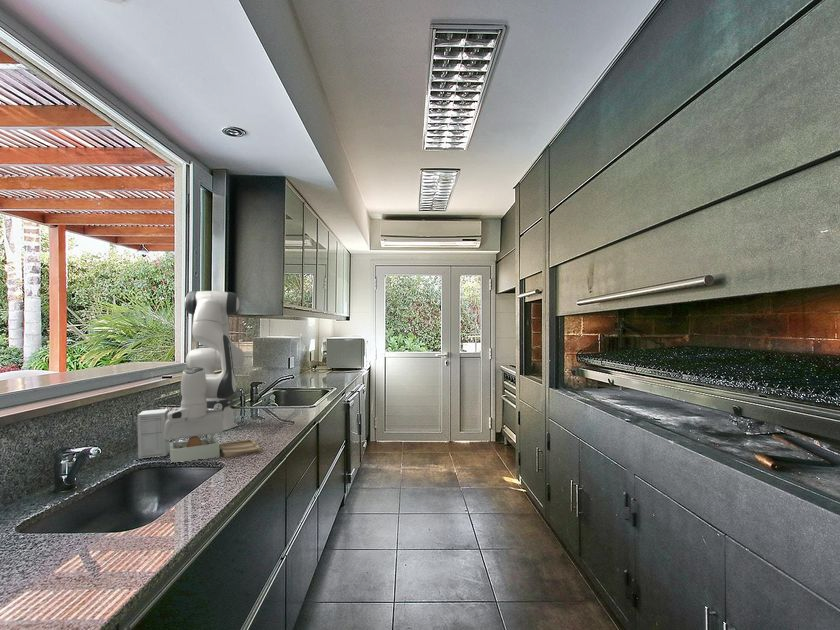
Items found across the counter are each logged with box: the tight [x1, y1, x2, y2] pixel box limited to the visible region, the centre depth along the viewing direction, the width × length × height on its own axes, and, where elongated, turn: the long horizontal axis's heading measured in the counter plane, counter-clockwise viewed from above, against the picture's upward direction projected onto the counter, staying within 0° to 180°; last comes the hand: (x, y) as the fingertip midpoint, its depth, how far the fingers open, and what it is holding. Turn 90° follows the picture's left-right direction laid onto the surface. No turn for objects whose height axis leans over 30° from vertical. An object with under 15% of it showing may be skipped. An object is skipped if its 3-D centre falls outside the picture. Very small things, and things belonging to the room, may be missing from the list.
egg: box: [187, 436, 202, 447], centre depth 173 cm, size 5×5×8 cm
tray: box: [219, 438, 262, 459], centre depth 181 cm, size 18×13×2 cm
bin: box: [169, 436, 221, 464], centre depth 173 cm, size 12×16×5 cm
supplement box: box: [136, 408, 171, 458], centre depth 176 cm, size 10×9×17 cm
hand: (194, 447), depth 173 cm, fingers open, 8 cm apart
